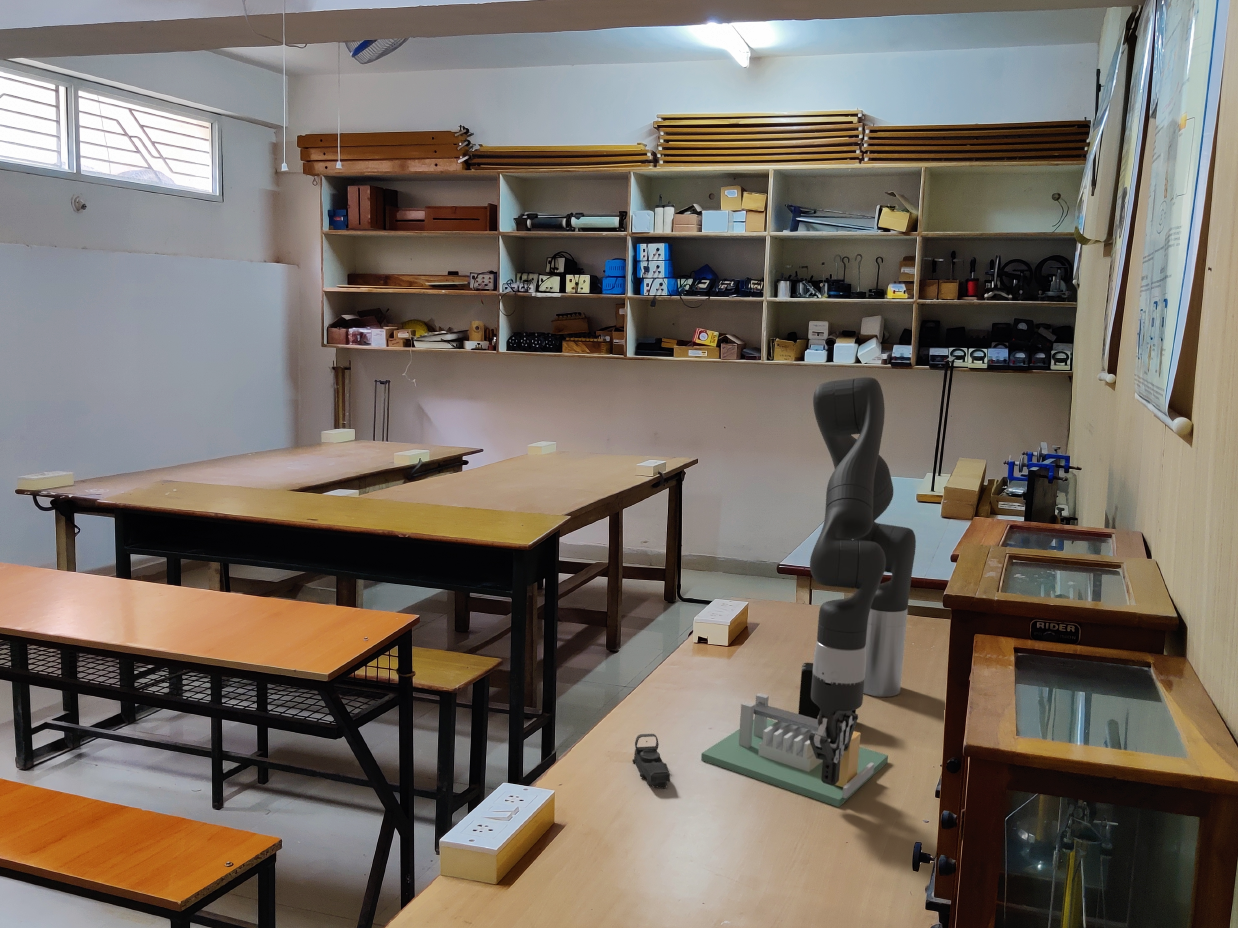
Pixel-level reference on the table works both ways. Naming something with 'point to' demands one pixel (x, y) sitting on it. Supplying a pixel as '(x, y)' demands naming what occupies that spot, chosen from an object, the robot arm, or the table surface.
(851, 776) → the clip
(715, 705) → the table surface
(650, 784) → the reflex sight
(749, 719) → the slotted rack on board
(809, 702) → the electronic device
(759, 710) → the strap
